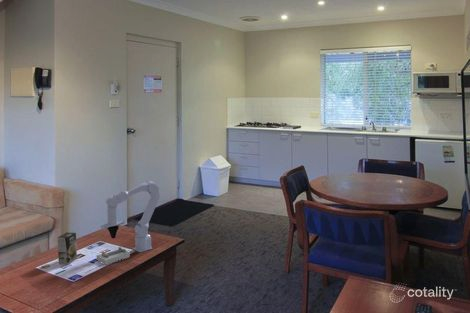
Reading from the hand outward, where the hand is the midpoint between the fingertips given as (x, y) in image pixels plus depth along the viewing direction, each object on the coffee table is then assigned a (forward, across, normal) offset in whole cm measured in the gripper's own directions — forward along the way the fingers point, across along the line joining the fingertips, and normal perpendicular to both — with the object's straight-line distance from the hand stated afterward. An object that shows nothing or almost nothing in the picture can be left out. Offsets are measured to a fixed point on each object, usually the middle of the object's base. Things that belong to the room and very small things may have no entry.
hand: (113, 237), depth 242 cm
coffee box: (+11, +24, -10) cm, 28 cm away
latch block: (+10, +4, +6) cm, 13 cm away
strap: (+7, +4, +6) cm, 10 cm away
